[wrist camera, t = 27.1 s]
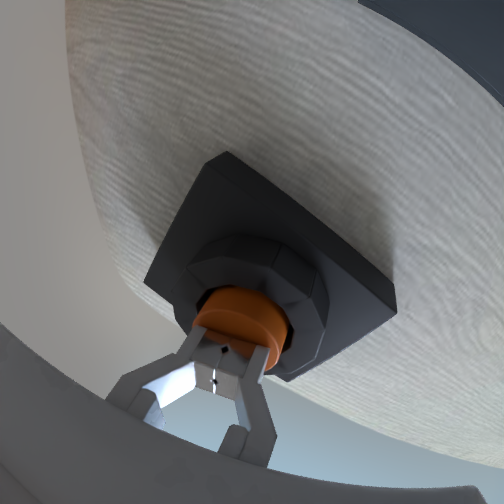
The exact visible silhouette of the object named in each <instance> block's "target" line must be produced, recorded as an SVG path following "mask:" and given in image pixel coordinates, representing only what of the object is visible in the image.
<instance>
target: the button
mask: <svg viewBox="0 0 504 504" xmlns="http://www.w3.org/2000/svg"><path fill="white" fill-rule="evenodd" d="M195 325H199V326H202V327H205V328H208V329H210V330H213V331H216V332H219V333H221V334H224V335H227V336H230V337H234V338H238V339H241V340H244V341H248V342H251V343H255V344H257V345H260V346H264V347H267V348H270V352H269V356H268V360H267V364H266V367H265V371H267V370H269V369H271V368H272V367H273V366H274V365H275V364H276V363H277V362H278V360H279V357H280V354H281V351H282V348H283V344H284V341H285V338H286V335H287V332H288V329H289V319H288V317H287V315H286V313H285V311H284V309H283V308H282V307H281V306H279V305H278V304H276V303H275V302H274V301H272V300H271V299H269V298H268V297H267V296H265V295H264V294H263V293H261V292H259V291H255V290H251V289H247V288H243V287H239V286H235V285H231V284H229V285H224V286H220V287H218V288H217V289H215V290H214V291H213V292H212V294H211V295H210V297H209V298H208V300H207V301H206V303H205V304H204V306H203V307H202V309H201V311H200V312H199V314H198V315H197V317H196V318H195V320H194V322H193V325H192V328H193V327H194V326H195Z"/></svg>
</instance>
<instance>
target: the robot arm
mask: <svg viewBox="0 0 504 504" xmlns="http://www.w3.org/2000/svg"><path fill="white" fill-rule="evenodd" d="M269 352H270V348H267V347H264V346H260V345H257V344H255V343H251V342H248V341H244V340H241V339H238V338H234V337H230V336H227V335H224V334H221V333H219V332H216V331H213V330H210V329H208V328H205V327H202V326H199V325H195V326H194V327H193V328H192V330H191V331H190V333H189V335H188V336H187V338H186V339H185V341H184V342H183V344H182V345H181V347H180V349H179V350H178V352H177V354H173V353H172V354H169V355H167V356H165V357H163V358H161V359H159V360H156V361H154V362H152V363H150V364H147V365H145V366H143V367H140V368H138V369H136V370H134V371H131V372H129V373H127V374H125V375H122V377H121V378H120V379H119V381H118V382H117V383H116V385H115V386H114V388H113V389H112V390H111V392H110V393H109V394H108V396H107V397H106V399H105V400H104V399H102V398H100V397H99V396H97V395H96V394H94V393H92V392H91V391H89V390H87V389H86V388H84V387H83V386H81V385H80V384H78V383H77V382H75V381H74V380H72V379H71V378H69V377H68V376H66V375H65V374H64V373H62V372H61V371H59V370H58V369H57V368H55V367H54V366H52V365H51V364H50V363H48V362H47V361H46V360H44V359H43V358H42V357H41V356H39V355H38V354H37V353H35V352H34V351H33V350H32V349H30V348H29V347H28V346H27V345H25V344H24V343H23V342H22V341H20V340H19V339H18V338H17V337H16V336H15V335H14V334H13V333H11V332H10V331H9V330H8V329H7V328H6V327H5V326H4V325H2V324H1V323H0V504H487V502H486V500H485V498H484V497H483V495H482V494H481V492H480V491H479V489H478V488H477V487H476V486H473V485H468V486H456V487H442V488H388V487H372V486H361V485H352V484H344V483H337V482H330V481H324V480H318V479H312V478H307V477H302V476H298V475H293V474H289V473H284V472H280V471H276V470H272V469H268V468H267V466H268V463H269V460H270V457H271V454H272V451H273V448H274V445H275V442H276V439H277V434H276V431H275V427H274V424H273V421H272V418H271V415H270V412H269V408H268V405H267V402H266V399H265V396H264V392H263V389H262V386H261V384H260V383H261V380H262V377H263V374H264V371H265V367H266V364H267V360H268V356H269ZM195 387H198V388H200V389H203V390H206V391H209V392H212V393H215V394H218V395H220V396H223V397H225V398H228V399H231V400H234V401H235V405H236V410H237V415H238V420H239V424H240V426H239V425H235V424H233V425H231V426H229V428H228V430H227V433H226V435H225V437H224V439H223V442H222V444H221V446H220V448H219V450H218V452H214V451H211V450H209V449H206V448H203V447H200V446H198V445H195V444H193V443H191V442H188V441H186V440H183V439H181V438H179V437H176V436H174V435H171V434H169V433H167V432H165V431H163V430H162V429H163V427H164V425H165V423H166V422H165V419H164V416H163V414H162V411H161V408H162V407H164V406H166V405H167V404H169V403H171V402H172V401H174V400H175V399H177V398H179V397H181V396H182V395H184V394H186V393H187V392H189V391H190V390H192V389H194V388H195Z"/></svg>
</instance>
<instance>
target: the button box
mask: <svg viewBox="0 0 504 504" xmlns="http://www.w3.org/2000/svg"><path fill="white" fill-rule="evenodd" d="M143 282H144V283H145V284H146V285H147V286H148V287H150V288H151V289H152V290H154V291H155V292H156V293H157V294H159V295H160V296H161V297H163V298H164V299H165V300H166V301H168V302H169V303H170V304H172V305H173V308H174V314H175V319H176V321H177V322H178V324H179V325H180V327H181V328H182V329H183V331H184V332H185V333H186V335H187V336H188V335H189V333H190V331H191V330H192V325H193V322H194V320H195V318H196V317H197V315H198V314H199V312H200V311H201V309H202V307H203V306H204V304H205V303H206V301H207V300H208V298H209V297H210V295H211V294H212V292H213V291H214V290H215V289H217V288H218V287H220V286H224V285H229V284H231V285H235V286H239V287H243V288H247V289H251V290H255V291H259V292H261V293H263V294H264V295H265V296H267V297H268V298H269V299H271V300H272V301H274V302H275V303H276V304H278V305H279V306H281V307H282V308H283V309H284V311H285V313H286V315H287V317H288V319H289V329H288V332H287V335H286V338H285V341H284V344H283V348H282V351H281V354H280V357H279V360H278V362H277V363H276V364H275V365H274V366H273V367H272V368H271V369H269V370H267V371H264V374H263V375H276V376H277V377H279V378H281V379H282V380H284V381H286V382H290V381H291V380H293V379H295V378H297V377H299V376H301V375H302V374H304V373H306V372H308V371H309V370H311V369H313V368H315V367H316V366H318V365H320V364H321V363H323V362H325V361H326V360H328V359H330V358H331V357H333V356H335V355H336V354H338V353H340V352H341V351H343V350H344V349H346V348H348V347H349V346H351V345H352V344H354V343H355V342H357V341H358V340H360V339H361V338H363V337H364V336H366V335H367V334H369V333H370V332H372V331H373V330H375V329H376V328H378V327H379V326H381V325H382V324H383V323H385V322H386V321H388V320H389V319H390V318H392V317H393V316H395V315H396V314H397V305H396V296H395V288H394V284H393V283H392V282H391V281H390V280H389V279H388V278H387V277H386V276H385V275H383V274H382V273H381V272H380V271H379V270H378V269H377V268H375V267H374V266H373V265H372V264H371V263H370V262H369V261H367V260H366V259H365V258H364V257H363V256H362V255H360V254H359V253H358V252H357V251H356V250H355V249H353V248H352V247H351V246H350V245H349V244H348V243H346V242H345V241H344V240H343V239H342V238H340V237H339V236H338V235H337V234H336V233H334V232H333V231H332V230H331V229H329V228H328V227H327V226H326V225H325V224H323V223H322V222H321V221H320V220H318V219H317V218H316V217H315V216H313V215H312V214H311V213H310V212H308V211H307V210H306V209H305V208H303V207H302V206H301V205H299V204H298V203H297V202H296V201H294V200H293V199H292V198H290V197H289V196H288V195H287V194H285V193H284V192H283V191H281V190H280V189H279V188H277V187H276V186H275V185H273V184H272V183H271V182H269V181H268V180H267V179H265V178H264V177H263V176H261V175H260V174H259V173H257V172H256V171H255V170H253V169H252V168H251V167H249V166H248V165H246V164H245V163H244V162H242V161H241V160H240V159H238V158H237V157H235V156H234V155H233V154H231V153H230V152H228V151H226V152H224V153H222V154H220V155H218V156H217V157H215V158H213V159H211V160H210V161H208V162H206V163H205V164H204V166H203V168H202V170H201V171H200V173H199V175H198V176H197V178H196V180H195V182H194V184H193V185H192V187H191V189H190V191H189V193H188V194H187V196H186V198H185V200H184V202H183V204H182V205H181V207H180V209H179V211H178V213H177V215H176V217H175V218H174V220H173V222H172V224H171V226H170V228H169V230H168V232H167V234H166V236H165V238H164V240H163V242H162V244H161V246H160V248H159V250H158V252H157V254H156V256H155V258H154V260H153V262H152V264H151V266H150V268H149V270H148V273H147V275H146V277H145V279H144V281H143Z"/></svg>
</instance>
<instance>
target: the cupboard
mask: <svg viewBox="0 0 504 504" xmlns="http://www.w3.org/2000/svg"><path fill="white" fill-rule="evenodd" d="M358 3H360V4H362V5H364V6H366V7H368V8H370V9H372V10H374V11H376V12H378V13H379V14H381V15H383V16H385V17H387V18H389V19H390V20H392V21H394V22H395V23H397V24H399V25H401V26H402V27H404V28H406V29H407V30H409V31H410V32H412V33H414V34H415V35H417V36H418V37H420V38H421V39H423V40H424V41H426V42H427V43H429V44H430V45H431V46H433V47H434V48H436V49H437V50H438V51H440V52H441V53H443V54H444V55H445V56H447V57H448V58H449V59H451V60H452V61H453V62H454V63H456V64H457V65H458V66H459V67H461V68H462V69H463V70H464V71H465V72H467V73H468V74H469V75H470V76H471V77H473V78H474V79H475V80H476V81H477V82H478V83H479V84H480V85H482V86H483V87H484V88H485V89H486V90H487V91H488V92H489V93H490V94H491V95H492V96H493V97H494V98H495V99H496V100H497V101H498V102H499V103H500V104H501V105H502V106H503V107H504V0H358Z"/></svg>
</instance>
